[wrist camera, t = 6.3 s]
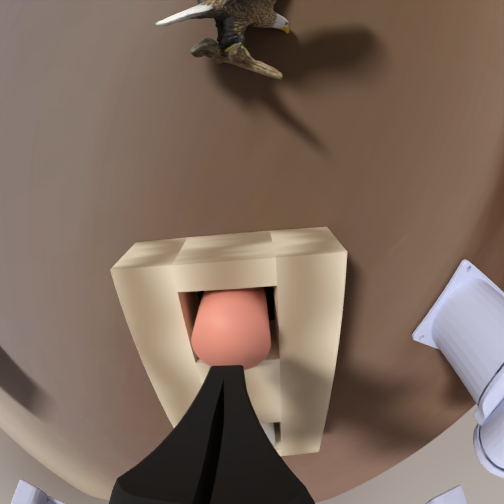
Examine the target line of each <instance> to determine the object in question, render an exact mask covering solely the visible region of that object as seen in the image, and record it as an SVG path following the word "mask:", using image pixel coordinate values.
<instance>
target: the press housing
mask: <svg viewBox="0 0 504 504" xmlns="http://www.w3.org/2000/svg"><path fill="white" fill-rule="evenodd" d="M346 265H347V251H346V250H345V248H344V247H343V246H342V245H341V243H340V242H339V241H338V240H337V239H336V237H335V236H334V235H333V234H332V233H331V231H330V230H329V229H328V228H327V227H317V228H302V229H287V230H274V231H260V232H248V233H235V234H223V235H211V236H199V237H188V238H177V239H166V240H156V241H145V242H136V243H135V244H134V245H133V246H132V247H131V248H130V249H129V250H128V251H127V252H126V253H125V254H124V255H123V256H122V257H121V259H120V260H119V261H118V262H117V263H116V264H115V265H114V266H113V267H112V268H111V269H110V270H111V274H112V277H113V281H114V284H115V287H116V291H117V294H118V297H119V300H120V303H121V306H122V309H123V312H124V315H125V318H126V321H127V323H128V326H129V329H130V332H131V334H132V337H133V339H134V342H135V345H136V347H137V350H138V352H139V355H140V357H141V359H142V362H143V364H144V367H145V369H146V371H147V374H148V376H149V378H150V380H151V383H152V385H153V387H154V389H155V391H156V393H157V395H158V398H159V400H160V402H161V404H162V406H163V408H164V410H165V412H166V414H167V416H168V418H169V420H170V421H171V423H172V425H173V427H174V428H175V427H176V425H177V424H178V423H179V422H180V420H181V419H182V417H183V416H184V414H185V413H186V411H187V410H188V408H189V407H190V405H191V404H192V402H193V401H194V399H195V397H196V395H197V394H198V392H199V390H200V388H201V386H202V384H203V382H204V380H205V378H206V376H207V374H208V372H209V369H210V367H211V366H209V365H207V364H206V363H204V362H203V361H202V360H201V359H200V358H199V357H198V356H197V355H196V353H195V352H194V350H193V347H192V343H191V338H192V333H193V329H194V325H195V321H196V317H197V313H198V309H199V306H200V304H199V299H198V294H197V291H209V290H225V289H240V288H253V287H267V286H273V298H274V320H269V328H270V338H271V347H270V351H269V353H268V355H267V357H266V358H265V359H264V360H263V361H262V362H261V363H260V364H258V365H257V366H255V367H253V368H250V369H247V370H244V373H245V380H246V387H247V392H248V395H249V398H250V401H251V403H252V406H253V409H254V411H255V413H256V415H257V418H258V420H259V422H260V423H272V422H274V433H275V446H274V448H275V450H276V451H277V452H278V454H279V455H280V456H287V455H296V454H304V453H311V452H318V451H319V448H320V444H321V439H322V435H323V431H324V426H325V421H326V416H327V411H328V406H329V401H330V396H331V390H332V385H333V379H334V372H335V366H336V359H337V353H338V345H339V338H340V330H341V321H342V312H343V302H344V291H345V279H346Z"/></svg>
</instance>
